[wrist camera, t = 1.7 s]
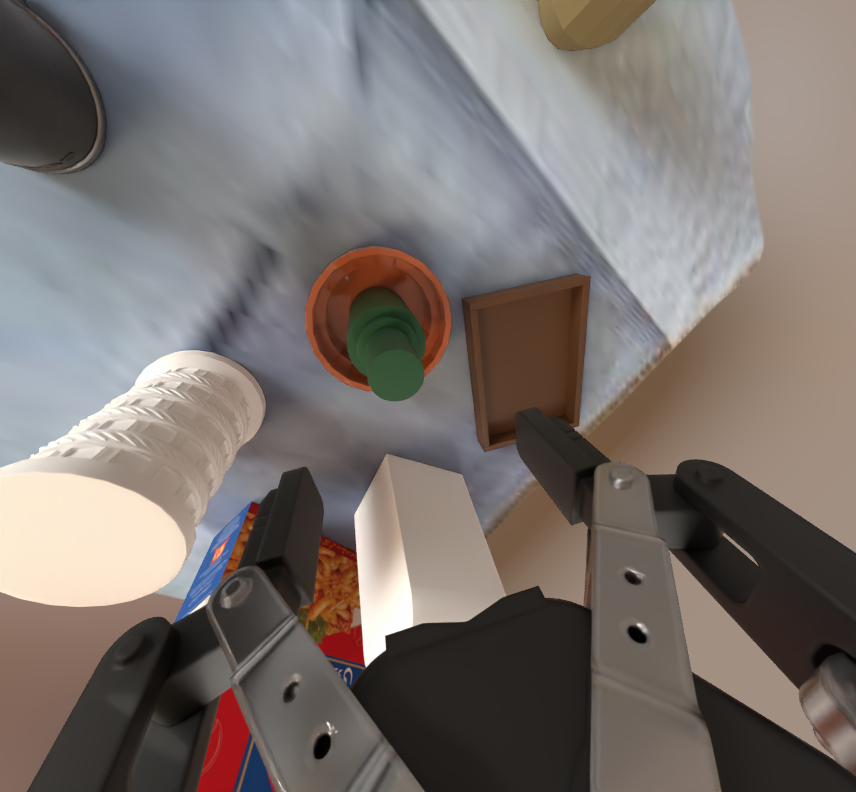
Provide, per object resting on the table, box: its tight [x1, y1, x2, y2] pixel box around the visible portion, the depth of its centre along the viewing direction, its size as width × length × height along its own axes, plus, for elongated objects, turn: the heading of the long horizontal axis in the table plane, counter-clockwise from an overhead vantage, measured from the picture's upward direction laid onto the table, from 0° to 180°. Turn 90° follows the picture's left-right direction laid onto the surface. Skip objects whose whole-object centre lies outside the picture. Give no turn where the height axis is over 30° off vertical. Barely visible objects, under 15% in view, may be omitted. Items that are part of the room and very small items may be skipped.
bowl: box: [305, 246, 452, 391], centre depth 31 cm, size 13×13×5 cm
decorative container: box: [0, 350, 266, 607], centre depth 26 cm, size 12×12×18 cm
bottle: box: [347, 286, 426, 401], centre depth 26 cm, size 6×6×16 cm
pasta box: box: [174, 502, 366, 792], centre depth 35 cm, size 28×8×28 cm, turn 42°
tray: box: [462, 274, 590, 452], centre depth 38 cm, size 20×14×3 cm
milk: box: [354, 454, 506, 667], centre depth 34 cm, size 12×12×26 cm
